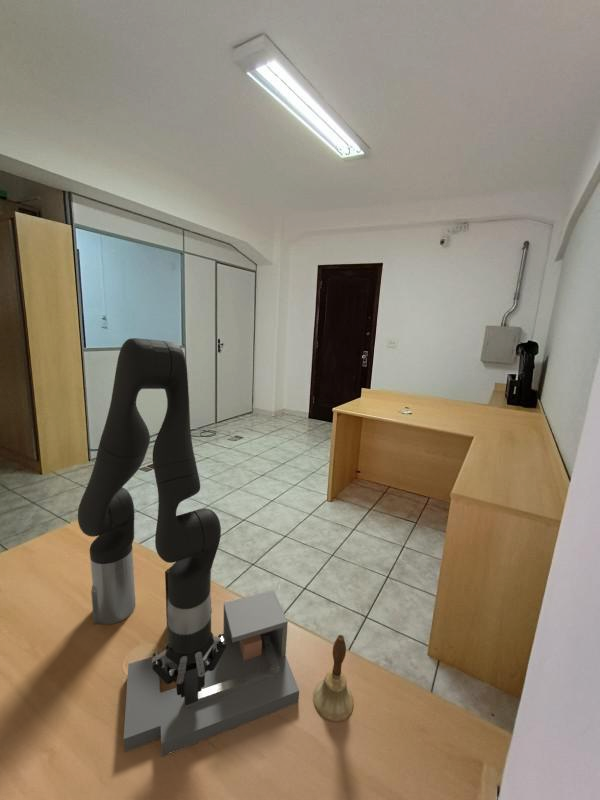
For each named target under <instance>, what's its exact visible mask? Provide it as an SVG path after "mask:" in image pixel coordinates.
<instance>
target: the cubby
mask: <svg viewBox="0 0 600 800" xmlns="http://www.w3.org/2000/svg"><path fill="white" fill-rule="evenodd" d="M284 612H285V611H284V610H283V608H282V606H281V604H280V601H279V599H278V596H277V594H276V592H275V590H274V589H273V590H269V591H265V592H260V593H257V594H253V595H250V596H249V595H248V596H245V597H242V598H237V599H234V600H233V599H232V600H230V601H227V602H223V629H222V630H223V631H222V634H224V637H225V641H226V648H225V650H224V652H223V654H222V656H221V658H220V659H219V661H218V663H217V665H216V667H215V669H214V670H213V671H209V670H208V671H207V672H206V673H205V685H204V687H202V688H201V689H204V688H207V687H210V686H213V685H216V684H219V683H222V682H225V681H228V680H231V679H234V678H237V677H240V676H243V675H246V674H249V673H252V672H255V671H258V670H261V669H264V668H267V667H269V664H268V661H267V658H266V655H265V652H264V649H263V646H262V652H261V655H259V656H256V657H253V658H250V659H247V660H243V656H242V652H241V649H240V640H243V639H246V638H249V637H253V636H256V635H259V634H260V636H261V639H262V643H263V637H265V636H268V635H269V638H270V640H271V643H272V646H273V649H274V652H275V654H276V657H277V660H278V663H279V666H280V671H279V676H277V677H274V678H271V679H268V680H265V681H262V682H260V683H257V684H254V685H251V686H248V687H245V688H242V689H240V690H237V691H234V692H231V693H228V694H225V695H222V696H219V697H217V698H214V699H211V700H208V701H205V702H202V703H199V704H197V705H194V706H191V707H188V708H185V705H184V697H182V698H181V695H177V687H174V688H172V689H168V690H164V691H162V692H161V684H160V683H161V682H160V681H161V680H160V679H161V678H160V677H159V676H158V674H157V673H156V672H155V671H154V670H153V669H152V656H150V657H146V658H144V659H141V660H136V661H135V662H134V661H133V662H130V663H128V664H127V679H126V681H127V682H126V694H125V695H126V698H125V713H124V728H123V749H124V750H123V751H124V752H125V751H126V752H128V751H132V750H133V749H136V748H138V747H142V746H143V745H147V744H150V743H151V742H154V741H157V740H160V747H161V749H160V750H161V752H160V753H161V757H164V755H165V756H167V755H169V754H168V753H170V752H172V753H174V752H173V751H175V752H177V751H179V749H180V750H182V749H185V748H187V747H190V746H192V745H195V744H197V743H199V741H200V742H203V741H205V740H207V739H210V738H212V737H216V736H217V735H219V734H222V733H225V732H228V731H230V730H232V729H235V728H237V727H240V726H242V725H245V724H247V723H249V722H252V721H255V720H258V719H260V718H262V717H265V716H267V715H270V714H273V713H275V712H278V711H281V710H283V709H286V708H288V707H290V706H293V705H295V704H297V703H299V702H300V701H299V699H300V689H299V686H298V684H297V682H296V678H295V675H294V674H293V671H292V668H291V666H290V664H289V660H288V659H287V656H286V654H287V636H288V626H289V625H288V619H287V617H286V614H285V613H284ZM212 647H213V645H212V646H211V648H212ZM211 648H210V649H209V650H208V652H207V653H206V655H205V656H204V657H203V661H204V660H206V659H207V656H208V654H209V652H210V650H211ZM166 661H167V662H168V664H169V665H170V666H171V667H172V669H176V664H175V663H174V662H172V661H171V660H170V659H168V658H167V659H166ZM189 745H190V746H189ZM186 746H187V747H186ZM184 747H185V748H184ZM181 748H182V749H181ZM176 750H177V751H176ZM166 754H167V755H166ZM170 754H171V753H170Z"/></svg>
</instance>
